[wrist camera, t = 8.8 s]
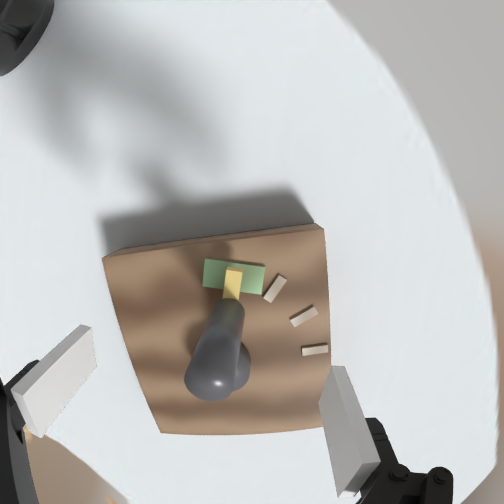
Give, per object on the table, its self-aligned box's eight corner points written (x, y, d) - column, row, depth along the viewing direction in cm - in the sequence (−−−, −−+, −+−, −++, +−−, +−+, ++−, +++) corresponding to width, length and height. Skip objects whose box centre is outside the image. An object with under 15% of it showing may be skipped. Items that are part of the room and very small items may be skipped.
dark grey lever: (196, 375, 27) (166, 462, 16) (207, 258, 24) (163, 314, 13) (246, 383, 27) (237, 475, 16) (267, 267, 24) (268, 333, 13)
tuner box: (120, 249, 29) (100, 258, 25) (315, 223, 28) (324, 229, 23) (168, 412, 34) (160, 434, 29) (325, 403, 32) (330, 427, 28)
